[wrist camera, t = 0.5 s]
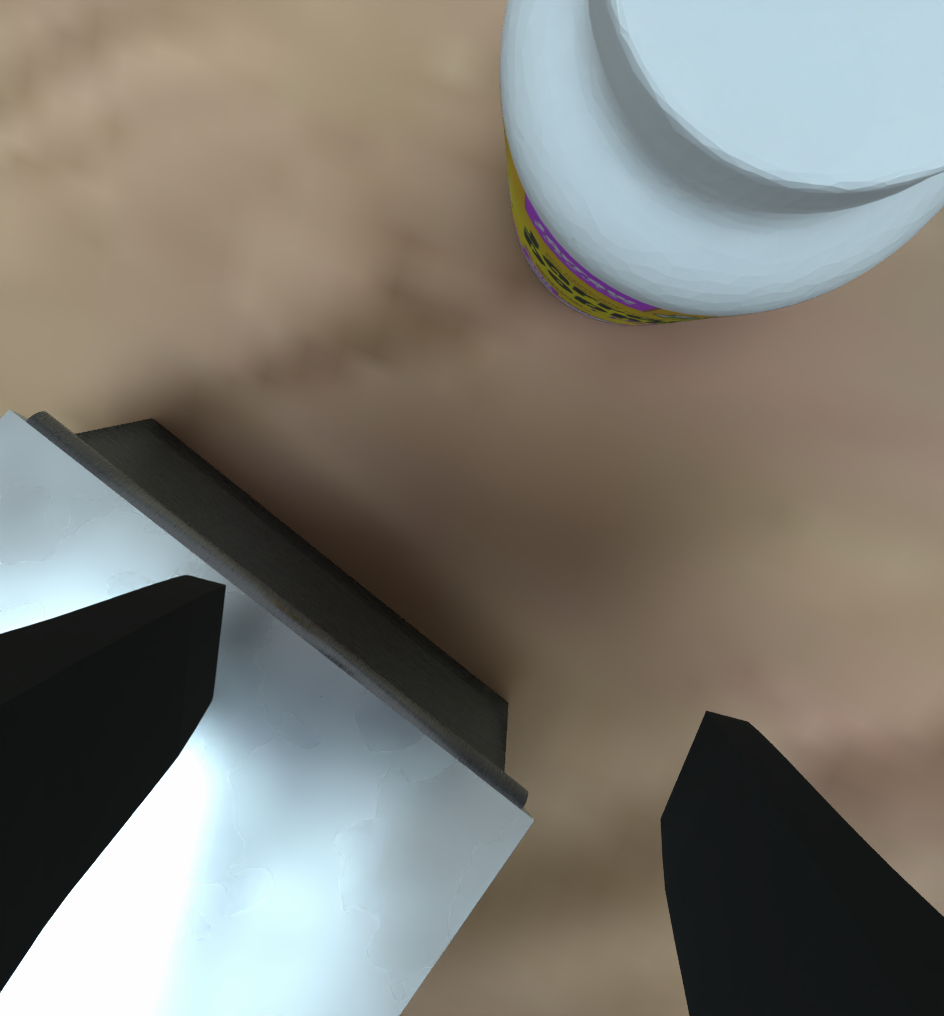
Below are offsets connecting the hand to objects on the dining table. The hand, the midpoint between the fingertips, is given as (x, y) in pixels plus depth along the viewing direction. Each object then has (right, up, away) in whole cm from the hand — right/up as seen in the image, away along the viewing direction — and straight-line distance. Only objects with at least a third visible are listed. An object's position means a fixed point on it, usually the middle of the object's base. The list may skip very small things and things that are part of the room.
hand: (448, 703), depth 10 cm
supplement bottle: (+5, +11, +8) cm, 15 cm away
